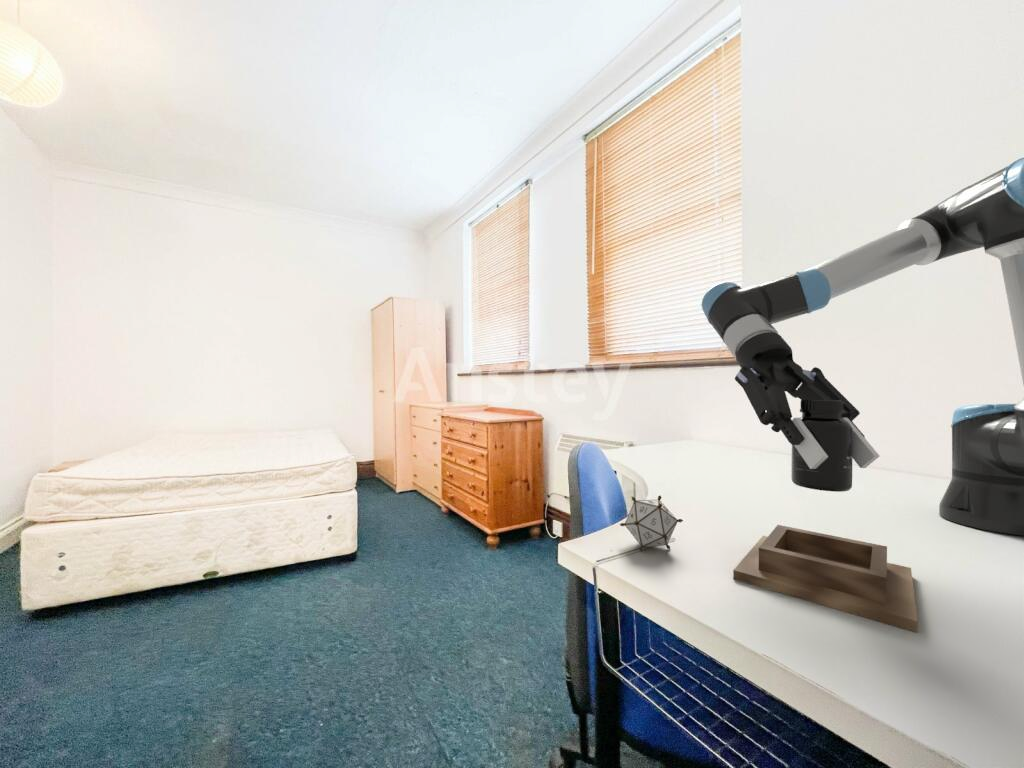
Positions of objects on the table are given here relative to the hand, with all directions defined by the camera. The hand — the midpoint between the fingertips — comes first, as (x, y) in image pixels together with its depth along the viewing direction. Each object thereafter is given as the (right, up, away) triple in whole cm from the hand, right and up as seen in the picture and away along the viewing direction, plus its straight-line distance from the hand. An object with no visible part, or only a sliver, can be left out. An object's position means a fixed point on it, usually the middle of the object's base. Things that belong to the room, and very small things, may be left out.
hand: (844, 462), depth 55 cm
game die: (-21, -16, +13) cm, 30 cm away
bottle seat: (-1, -16, +3) cm, 17 cm away
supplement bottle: (-1, -4, +4) cm, 6 cm away
